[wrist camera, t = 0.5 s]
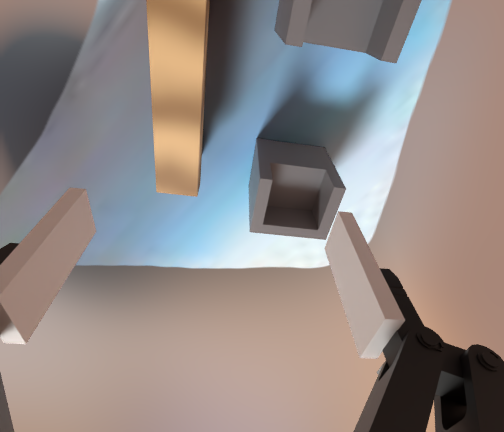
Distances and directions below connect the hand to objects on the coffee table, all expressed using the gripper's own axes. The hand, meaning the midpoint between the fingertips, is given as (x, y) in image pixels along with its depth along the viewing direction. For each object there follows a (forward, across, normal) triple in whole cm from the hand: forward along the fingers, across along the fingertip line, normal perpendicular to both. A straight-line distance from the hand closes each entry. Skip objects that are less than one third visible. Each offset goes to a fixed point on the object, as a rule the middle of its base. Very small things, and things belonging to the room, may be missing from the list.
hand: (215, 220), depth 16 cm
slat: (+15, -4, +2) cm, 16 cm away
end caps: (+21, +8, +2) cm, 22 cm away
